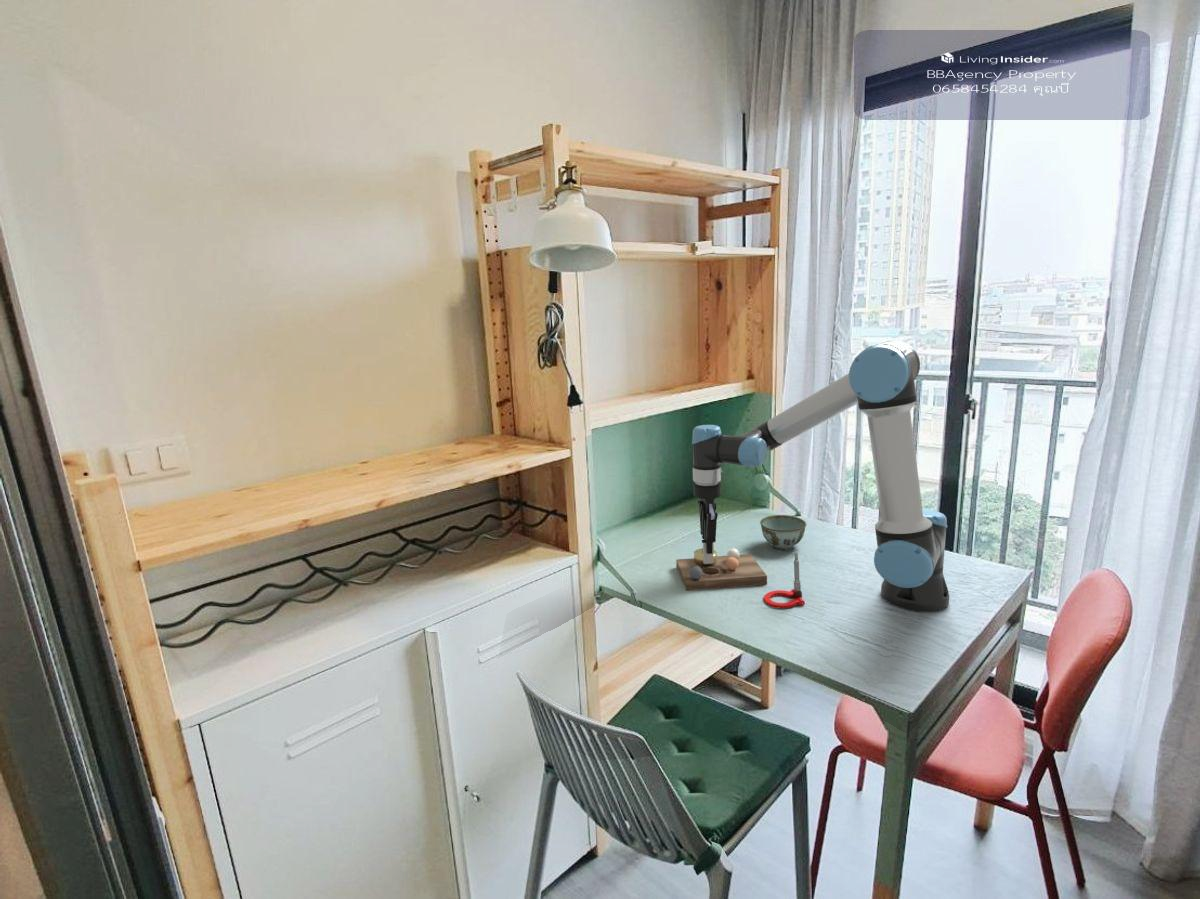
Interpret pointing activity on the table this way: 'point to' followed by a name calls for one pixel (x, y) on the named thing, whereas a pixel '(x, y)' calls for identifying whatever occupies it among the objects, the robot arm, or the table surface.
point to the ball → (732, 563)
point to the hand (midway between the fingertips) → (708, 562)
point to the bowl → (783, 530)
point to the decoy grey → (695, 572)
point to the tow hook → (793, 593)
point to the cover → (699, 557)
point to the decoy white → (733, 553)
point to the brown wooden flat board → (722, 573)
